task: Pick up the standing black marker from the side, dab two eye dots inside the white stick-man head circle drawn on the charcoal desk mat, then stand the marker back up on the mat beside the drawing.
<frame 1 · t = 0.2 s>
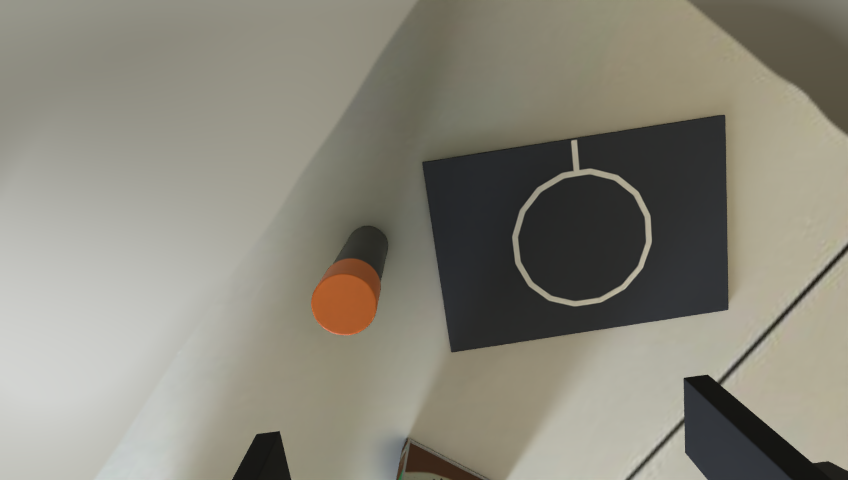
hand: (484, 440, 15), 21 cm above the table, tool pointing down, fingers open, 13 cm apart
marker: (368, 245, 36), on the table
desk mat: (580, 238, 36), on the table
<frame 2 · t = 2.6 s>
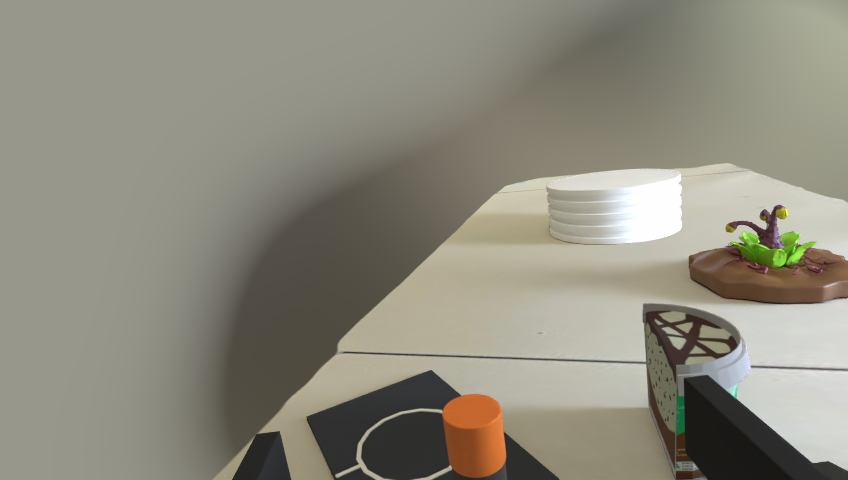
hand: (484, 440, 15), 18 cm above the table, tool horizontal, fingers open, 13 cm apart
plant: (769, 280, 69), on the table
plate stack: (612, 228, 110), on the table
food container: (701, 442, 39), on the table
desk mat: (414, 446, 44), on the table
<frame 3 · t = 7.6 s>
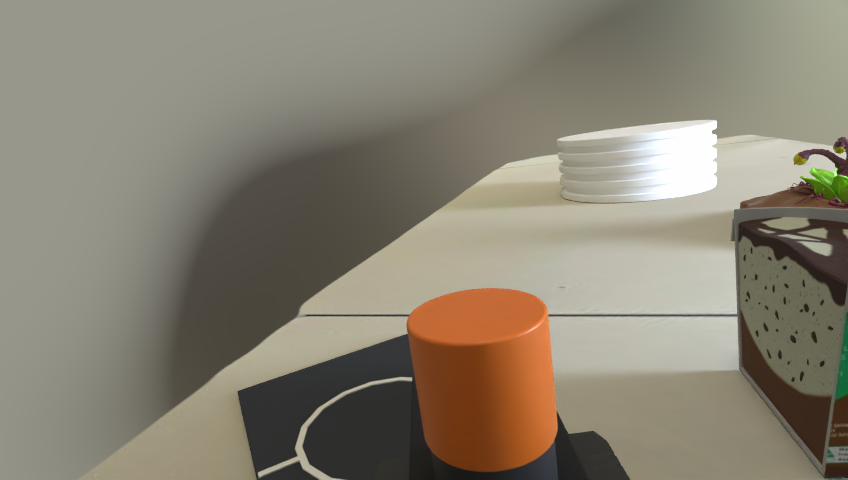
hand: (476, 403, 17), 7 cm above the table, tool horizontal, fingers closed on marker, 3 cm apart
plate stack: (634, 189, 95), on the table
food container: (842, 417, 25), on the table
desk mat: (385, 429, 29), on the table
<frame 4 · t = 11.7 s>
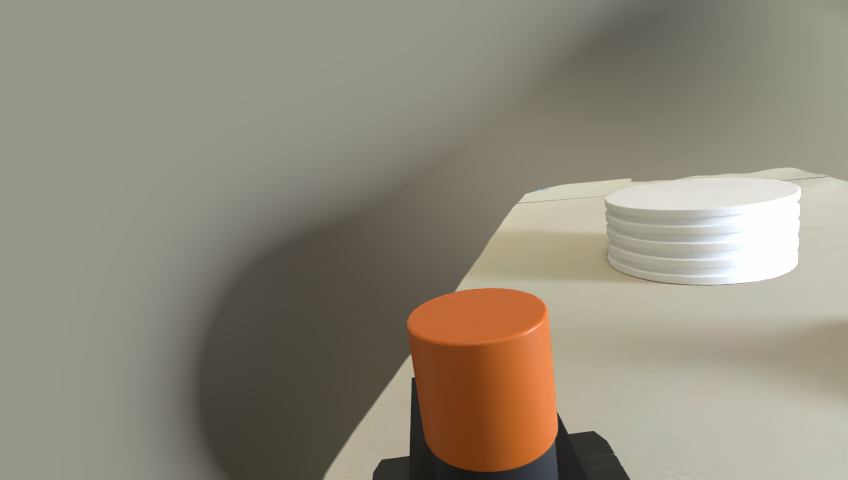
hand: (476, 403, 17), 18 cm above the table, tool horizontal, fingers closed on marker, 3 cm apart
plate stack: (694, 258, 82), on the table
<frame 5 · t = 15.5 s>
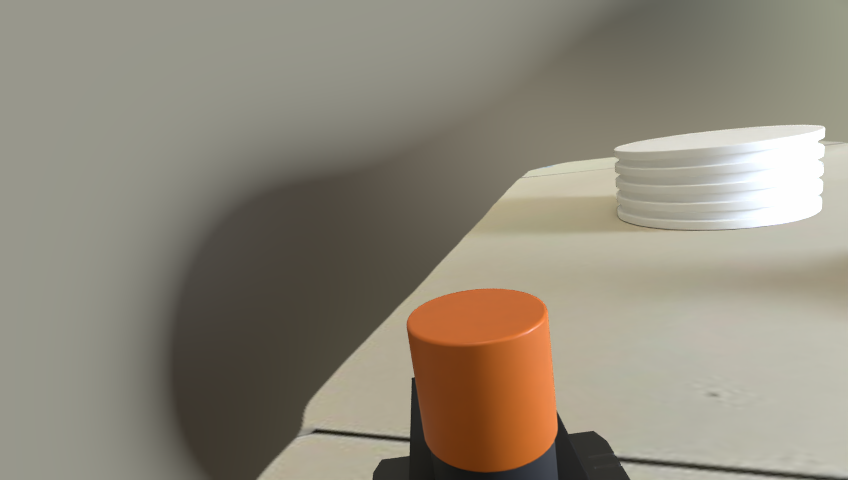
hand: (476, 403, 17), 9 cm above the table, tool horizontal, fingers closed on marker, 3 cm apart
plate stack: (710, 210, 78), on the table
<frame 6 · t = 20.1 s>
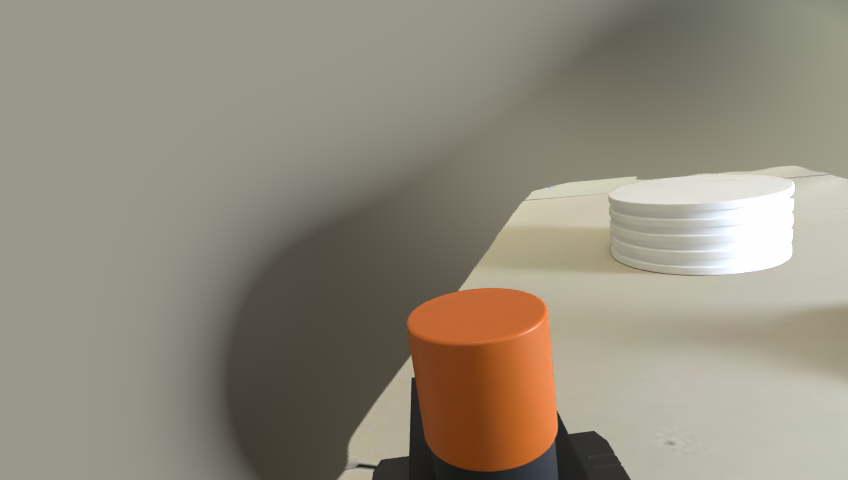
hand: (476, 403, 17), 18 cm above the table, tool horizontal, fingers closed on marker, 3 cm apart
plate stack: (694, 251, 86), on the table
when the fingers open (8 cm above the table, at t = 23.7 s): marker stays where it is, resting on desk mat.
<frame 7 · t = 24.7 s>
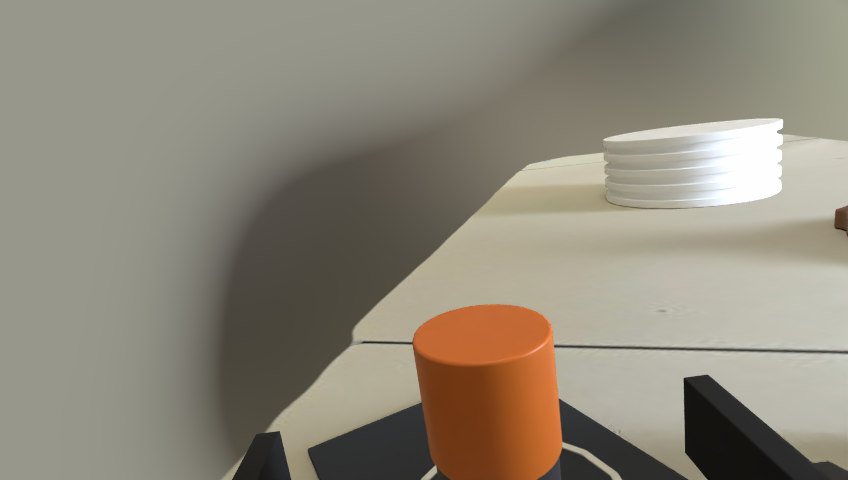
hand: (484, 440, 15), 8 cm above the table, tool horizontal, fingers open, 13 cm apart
plate stack: (686, 193, 88), on the table
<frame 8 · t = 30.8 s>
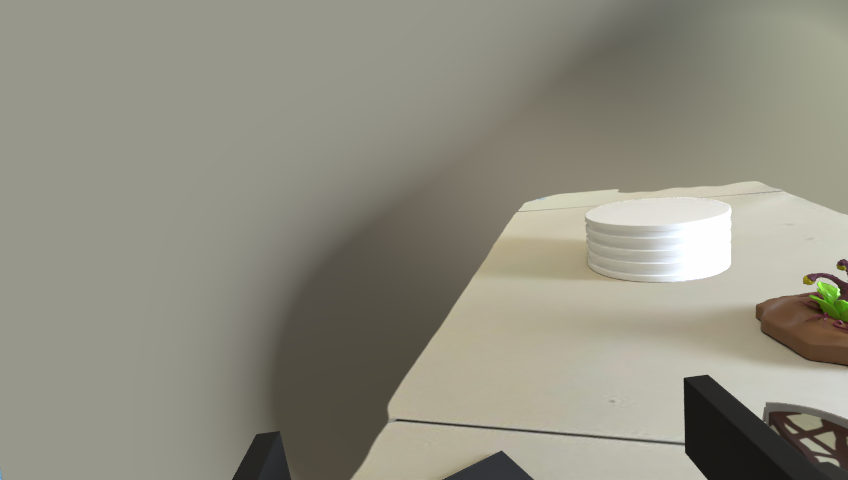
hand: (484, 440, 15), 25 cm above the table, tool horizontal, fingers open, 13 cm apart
plate stack: (655, 261, 105), on the table
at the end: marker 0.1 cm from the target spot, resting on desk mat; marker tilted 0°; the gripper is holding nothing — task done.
